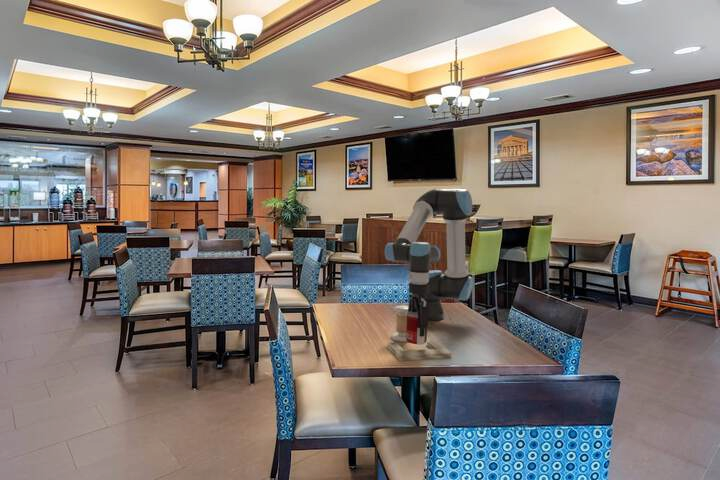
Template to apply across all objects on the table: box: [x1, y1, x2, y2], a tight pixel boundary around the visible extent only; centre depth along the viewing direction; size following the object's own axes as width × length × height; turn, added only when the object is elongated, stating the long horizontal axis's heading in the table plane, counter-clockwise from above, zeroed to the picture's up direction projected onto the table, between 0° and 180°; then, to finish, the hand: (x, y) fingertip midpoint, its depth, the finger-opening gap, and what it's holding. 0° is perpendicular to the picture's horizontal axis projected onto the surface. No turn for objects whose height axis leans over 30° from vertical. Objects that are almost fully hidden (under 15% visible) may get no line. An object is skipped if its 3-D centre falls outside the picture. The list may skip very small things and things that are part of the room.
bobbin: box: [390, 305, 409, 343], centre depth 188 cm, size 10×10×13 cm
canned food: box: [406, 311, 428, 345], centre depth 172 cm, size 8×8×11 cm
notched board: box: [387, 339, 452, 362], centre depth 171 cm, size 20×15×2 cm
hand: (416, 340), depth 173 cm, fingers closed on canned food, 8 cm apart
